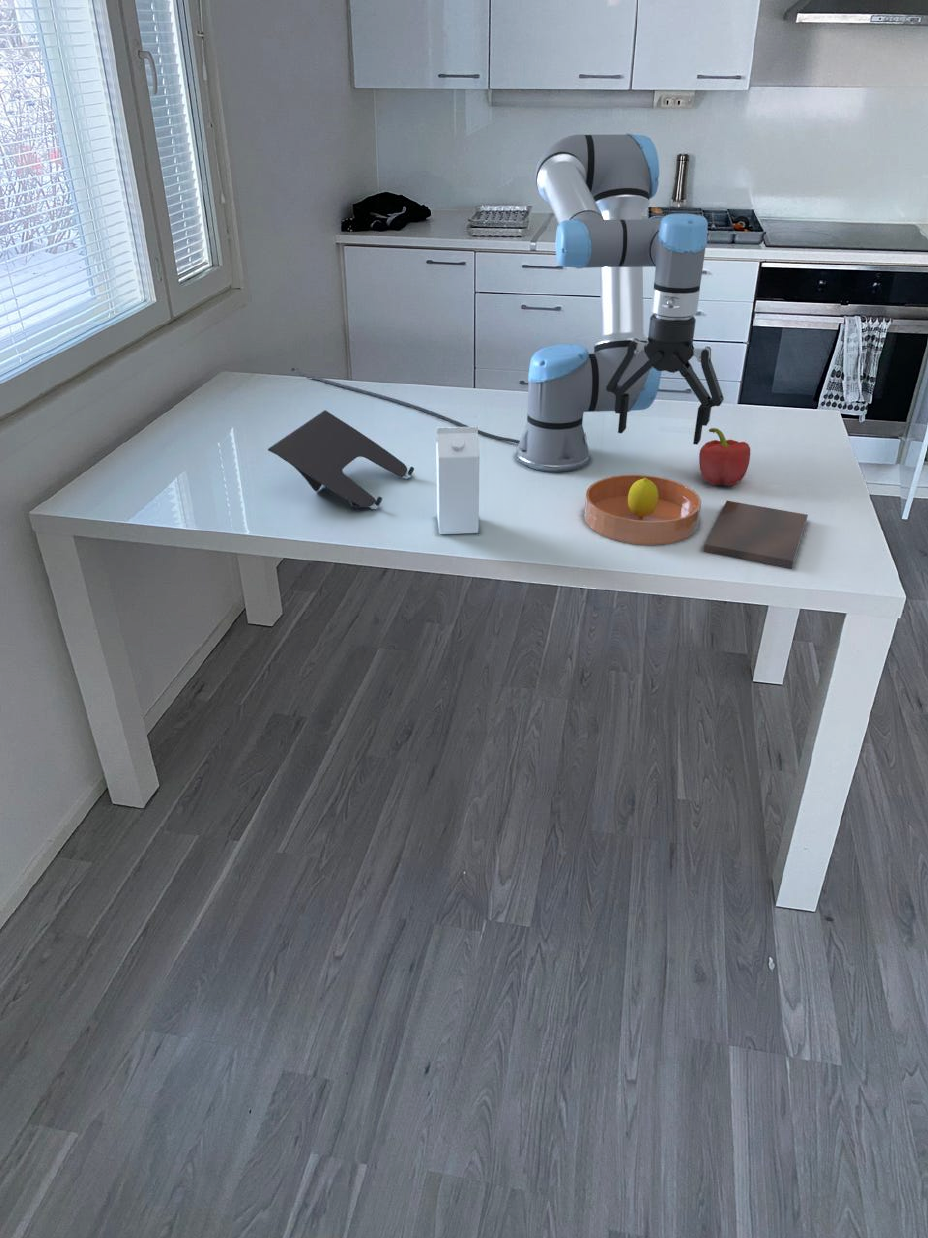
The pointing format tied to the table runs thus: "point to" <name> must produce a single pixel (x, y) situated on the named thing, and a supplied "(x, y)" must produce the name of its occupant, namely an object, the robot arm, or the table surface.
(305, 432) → the laptop tray
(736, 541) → the board
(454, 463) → the milk carton
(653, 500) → the lemon
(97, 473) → the table surface
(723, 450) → the vegetable
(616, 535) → the basin
